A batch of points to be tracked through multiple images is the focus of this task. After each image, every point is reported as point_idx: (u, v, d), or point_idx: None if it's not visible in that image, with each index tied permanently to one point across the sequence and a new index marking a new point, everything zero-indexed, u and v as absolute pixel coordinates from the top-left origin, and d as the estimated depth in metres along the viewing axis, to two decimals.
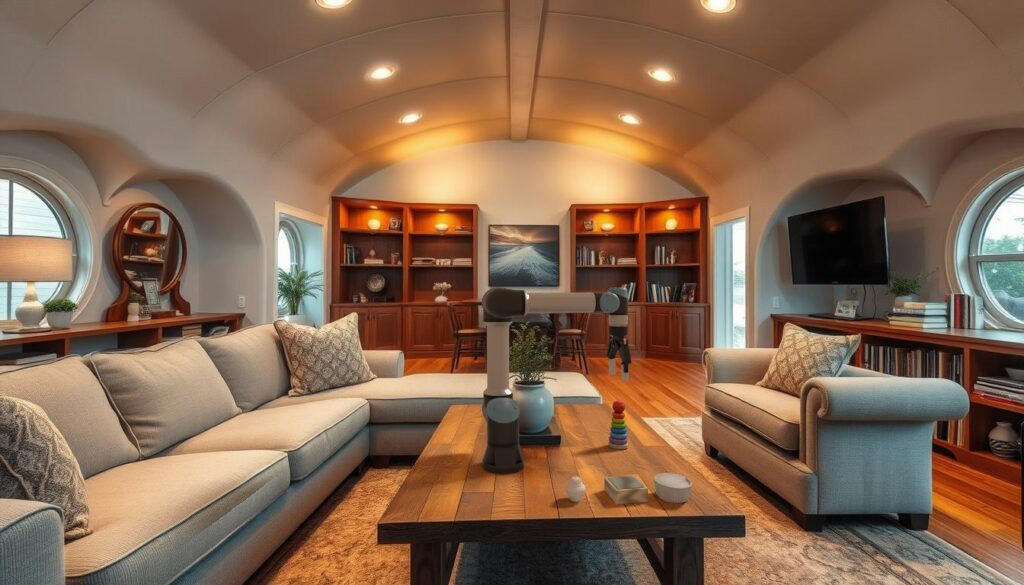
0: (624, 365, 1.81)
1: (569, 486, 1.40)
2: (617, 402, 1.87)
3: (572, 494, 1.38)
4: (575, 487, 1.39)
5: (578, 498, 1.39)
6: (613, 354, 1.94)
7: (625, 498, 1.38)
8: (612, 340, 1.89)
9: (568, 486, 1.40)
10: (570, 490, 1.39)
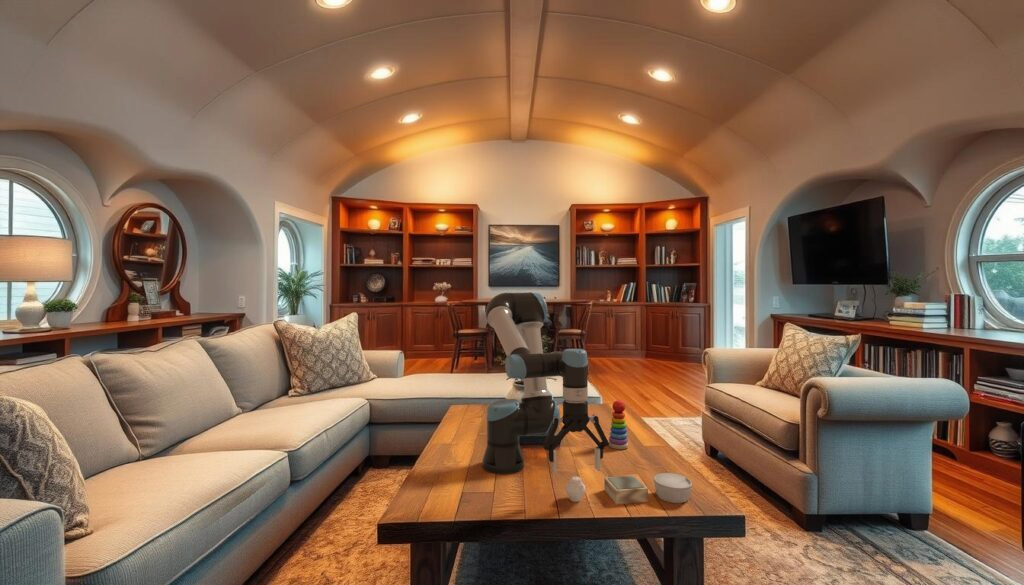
0: None
1: (569, 486, 1.40)
2: (617, 402, 1.87)
3: (572, 494, 1.38)
4: (575, 487, 1.39)
5: (578, 498, 1.39)
6: (594, 441, 1.41)
7: (625, 498, 1.38)
8: None
9: (568, 486, 1.40)
10: (570, 490, 1.39)
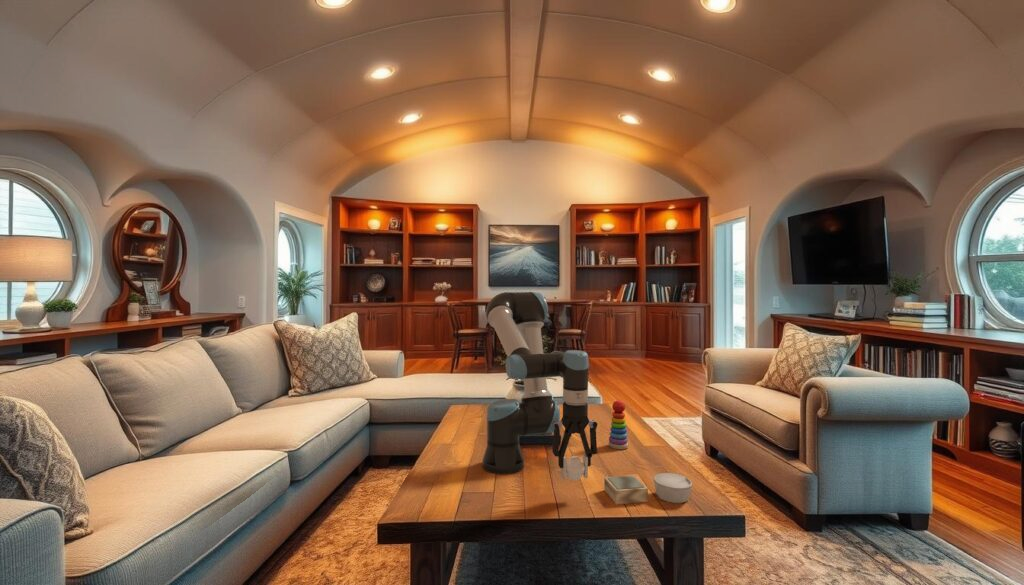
0: None
1: (568, 465, 1.40)
2: (617, 402, 1.87)
3: (571, 473, 1.39)
4: (574, 466, 1.39)
5: (577, 477, 1.39)
6: (584, 446, 1.42)
7: (625, 498, 1.38)
8: None
9: (567, 465, 1.40)
10: (569, 469, 1.39)
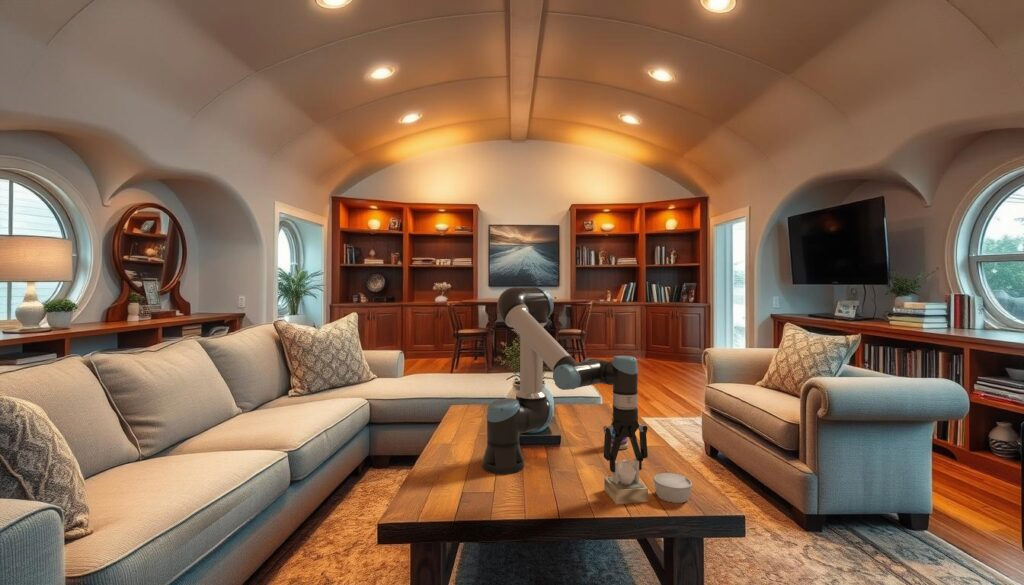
0: None
1: (620, 469, 1.42)
2: None
3: (623, 477, 1.41)
4: (626, 470, 1.41)
5: (629, 481, 1.41)
6: (635, 451, 1.44)
7: (625, 498, 1.38)
8: None
9: (619, 469, 1.42)
10: (621, 473, 1.41)
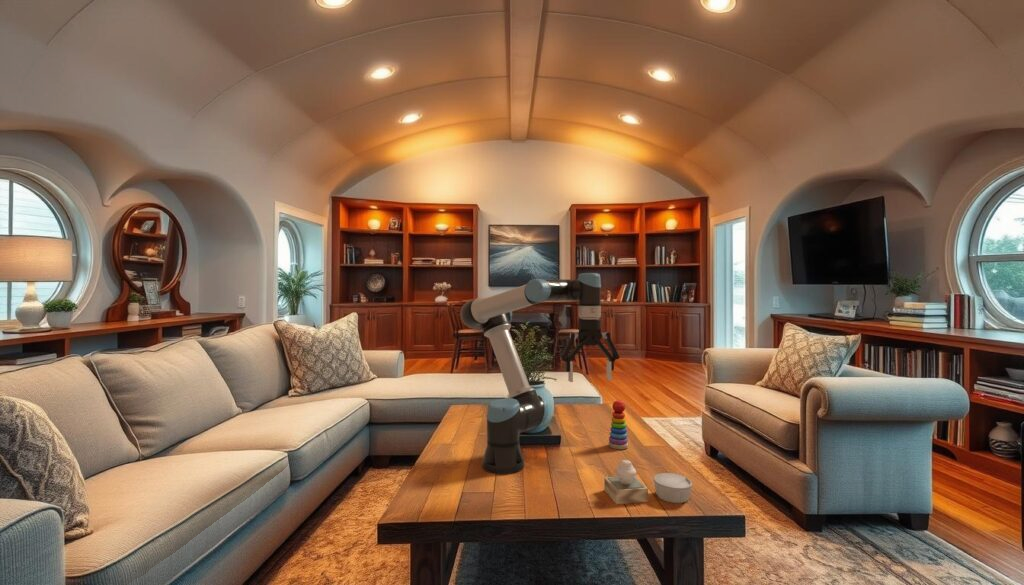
0: None
1: (620, 469, 1.42)
2: (617, 402, 1.87)
3: (623, 477, 1.41)
4: (626, 470, 1.41)
5: (629, 481, 1.41)
6: (606, 355, 1.59)
7: (625, 498, 1.38)
8: None
9: (619, 469, 1.42)
10: (621, 473, 1.41)
